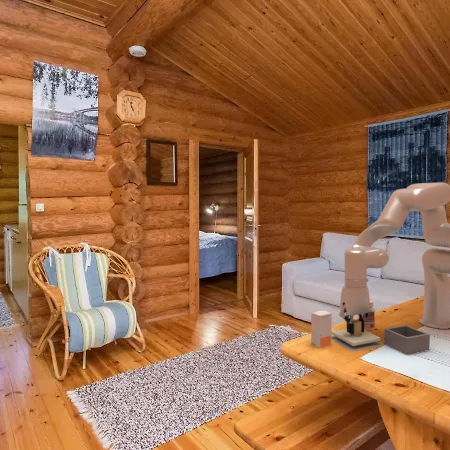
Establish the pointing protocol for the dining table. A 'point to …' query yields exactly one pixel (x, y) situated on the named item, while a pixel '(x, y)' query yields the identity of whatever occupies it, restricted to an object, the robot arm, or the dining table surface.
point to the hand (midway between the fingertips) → (355, 331)
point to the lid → (356, 335)
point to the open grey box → (406, 339)
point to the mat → (357, 347)
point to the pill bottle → (370, 319)
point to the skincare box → (321, 328)
